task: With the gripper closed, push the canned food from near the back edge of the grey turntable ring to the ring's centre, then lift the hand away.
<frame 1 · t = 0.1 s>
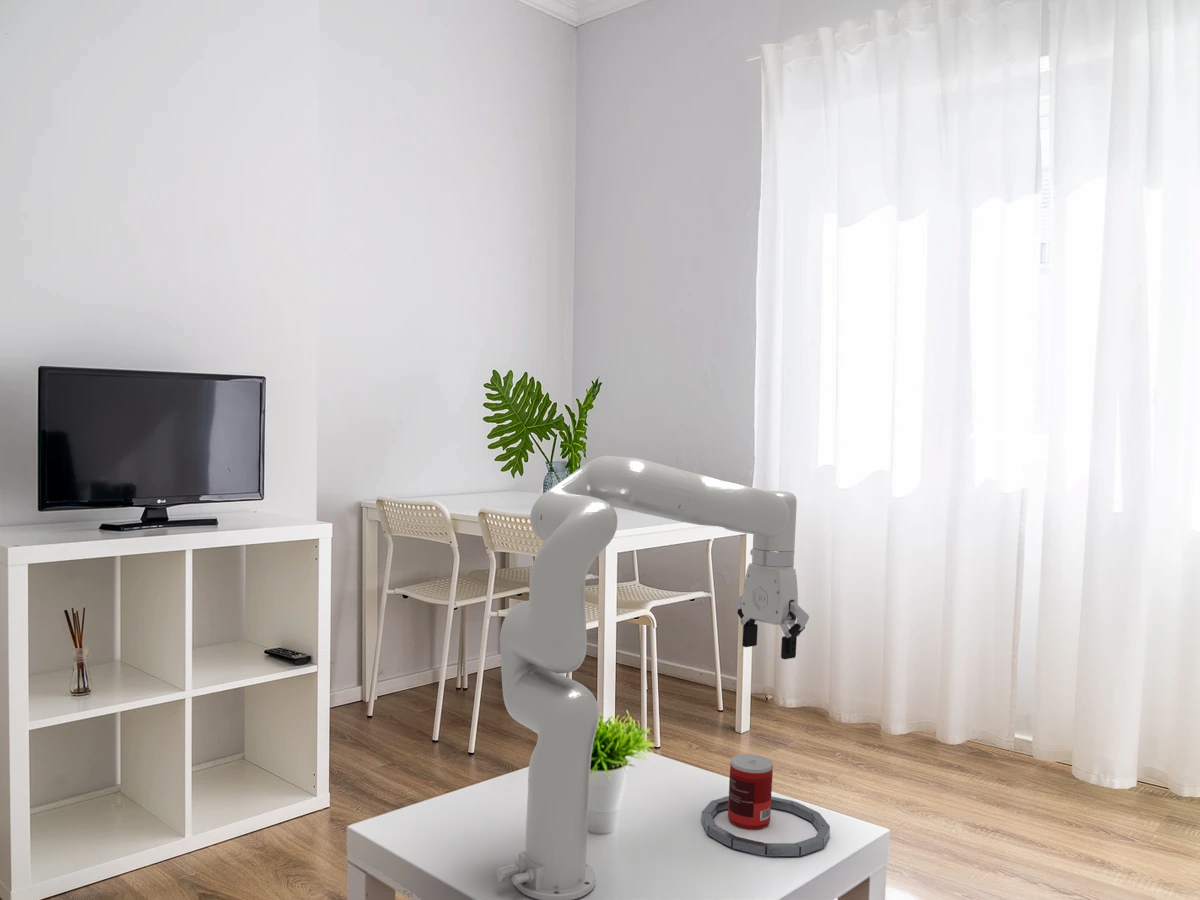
hand: (768, 652, 169), 31 cm above the table, tool pointing down, fingers open, 9 cm apart
turntable ring: (765, 819, 166), point 2 cm above the table, hinge at 0.0°
canned food: (748, 822, 169), resting in turntable ring
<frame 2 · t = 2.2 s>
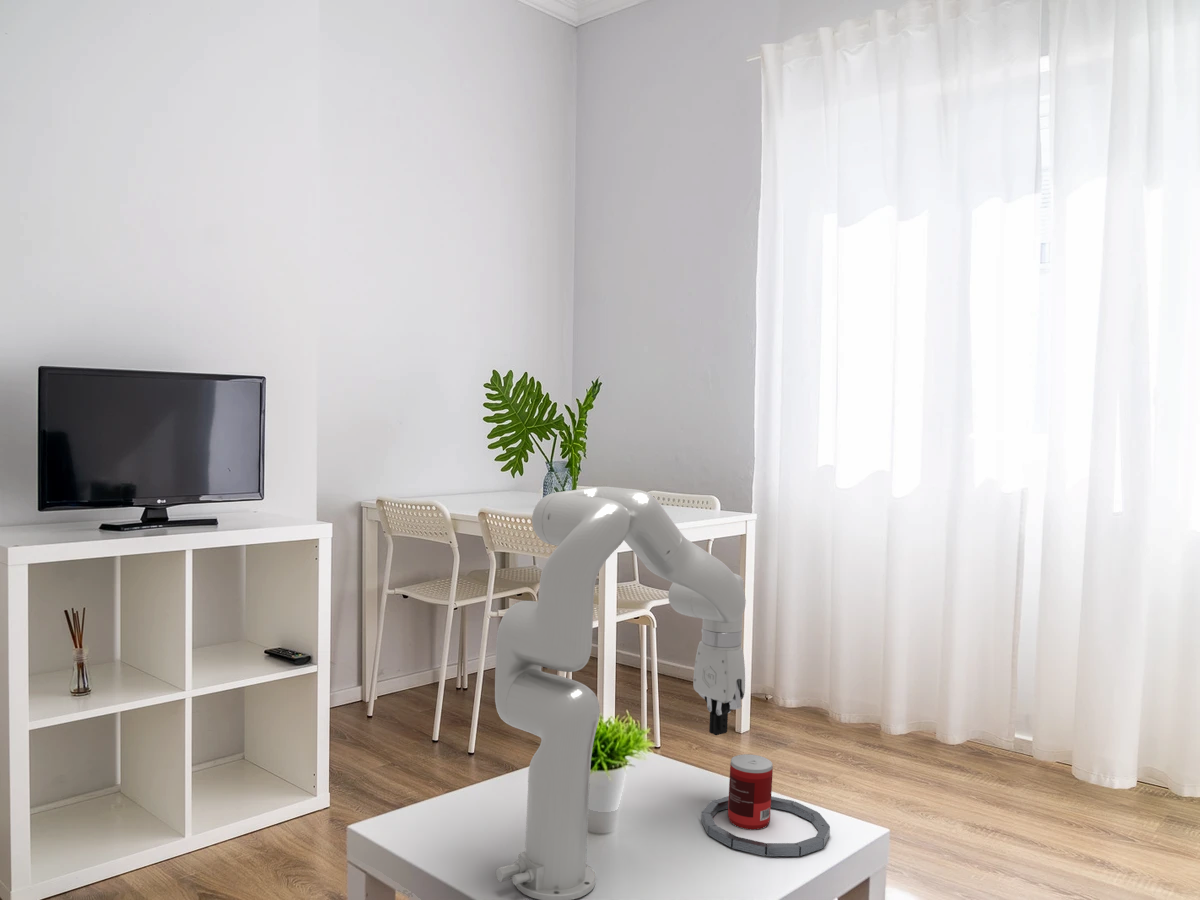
hand: (718, 732, 177), 13 cm above the table, tool pointing down, fingers closed
nothing on the table moved.
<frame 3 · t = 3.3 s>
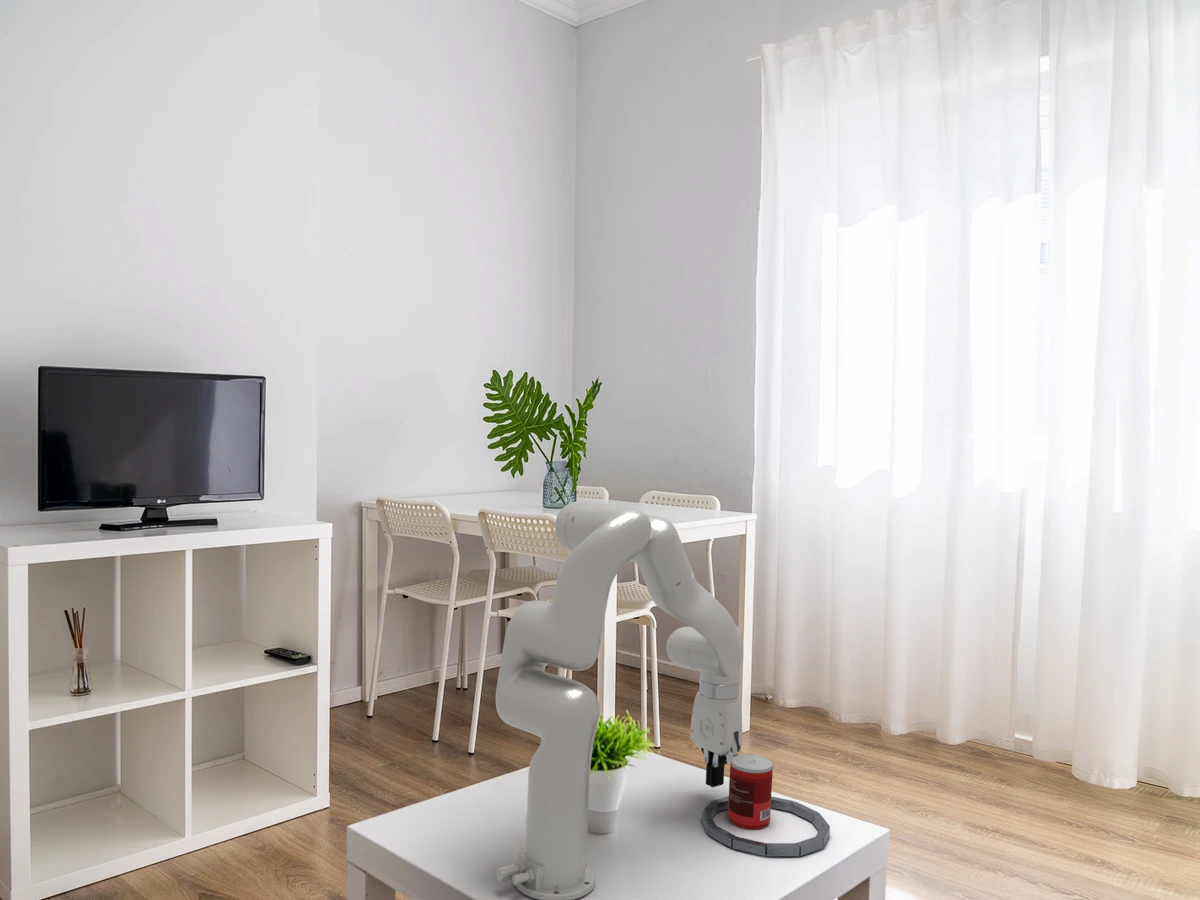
hand: (714, 784, 177), 4 cm above the table, tool pointing down, fingers closed
nothing on the table moved.
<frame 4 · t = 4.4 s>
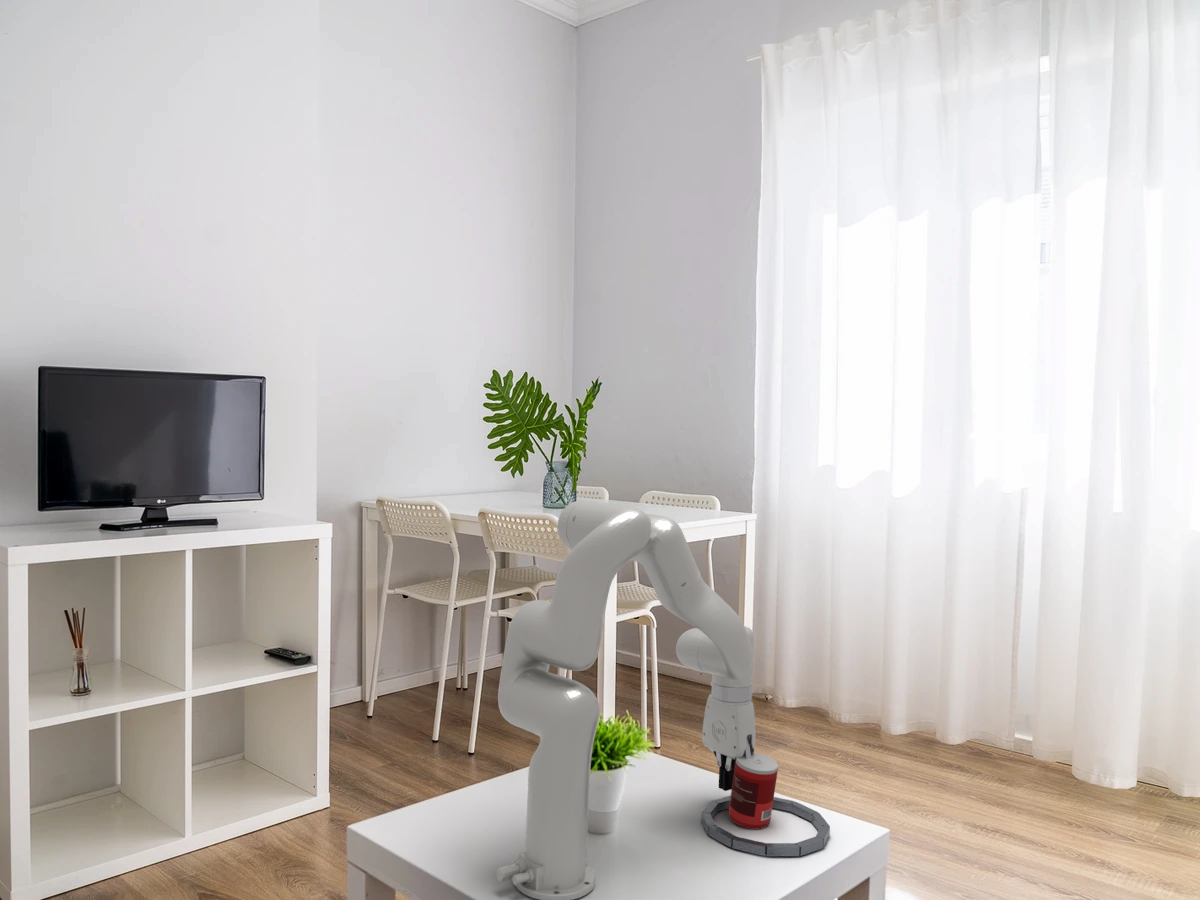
hand: (727, 788, 175), 4 cm above the table, tool pointing down, fingers closed
canned food: (748, 820, 169), resting in turntable ring, touching gripper
everything else where it was.
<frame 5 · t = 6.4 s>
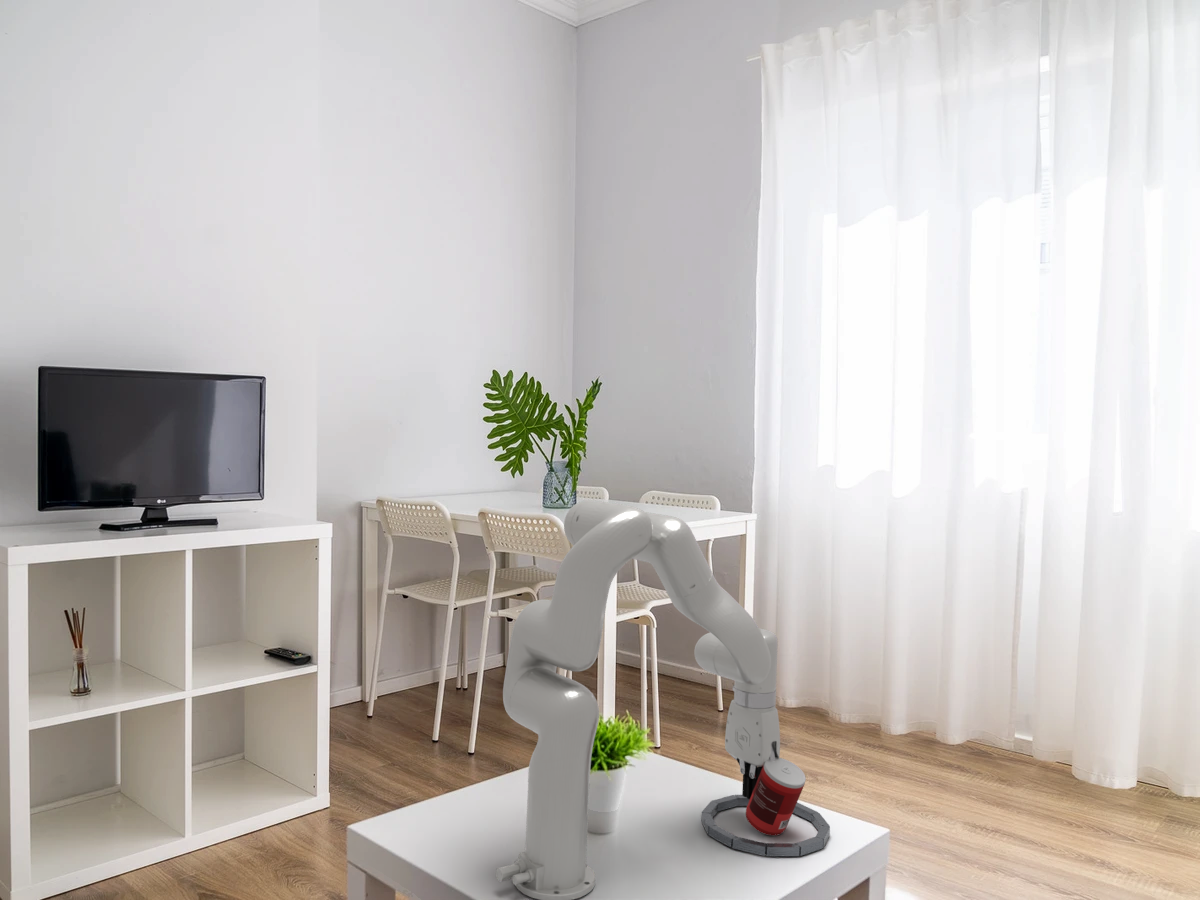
hand: (751, 795, 170), 4 cm above the table, tool pointing down, fingers closed
canned food: (764, 822, 166), point 1 cm above the table, touching gripper
everything else where it was.
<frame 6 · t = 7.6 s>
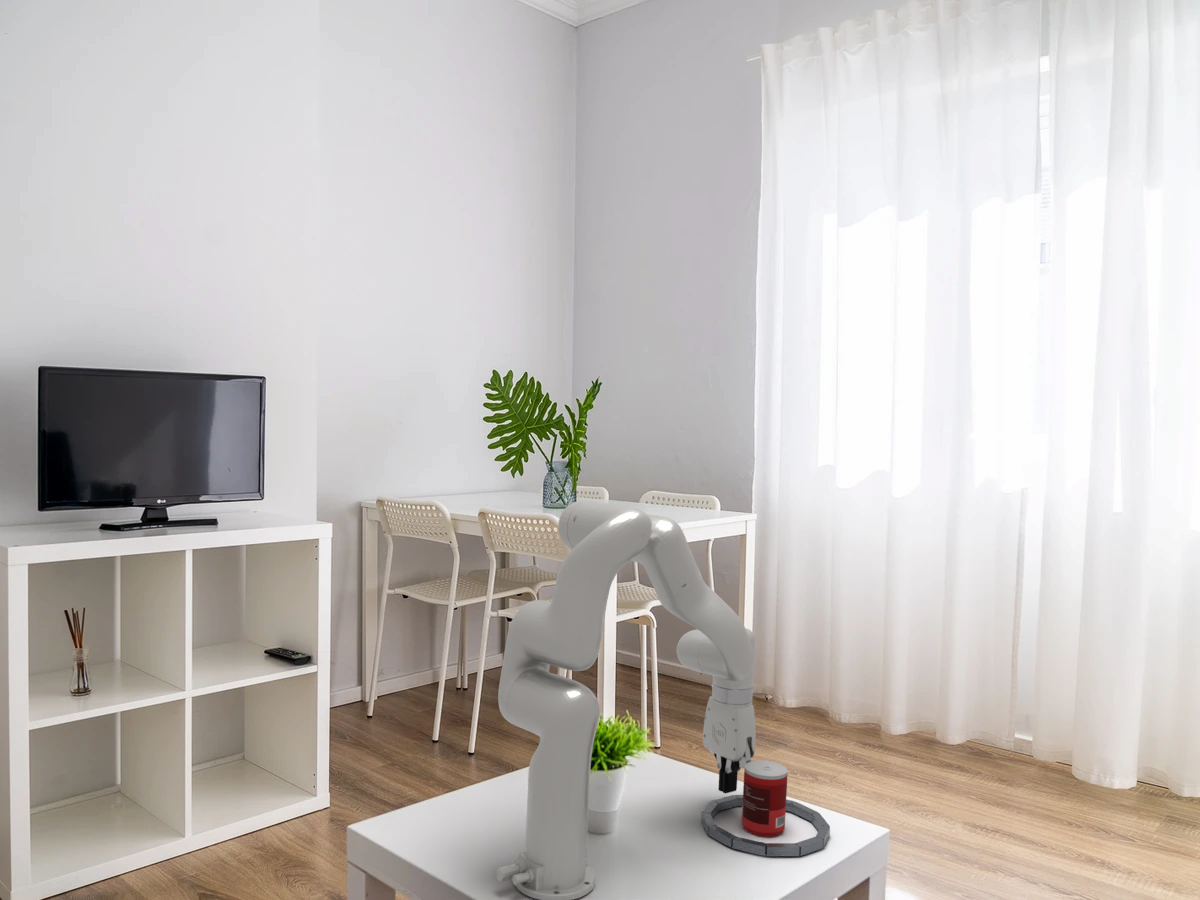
hand: (727, 790, 174), 4 cm above the table, tool pointing down, fingers closed
canned food: (763, 829, 167), resting in turntable ring
everything else where it was.
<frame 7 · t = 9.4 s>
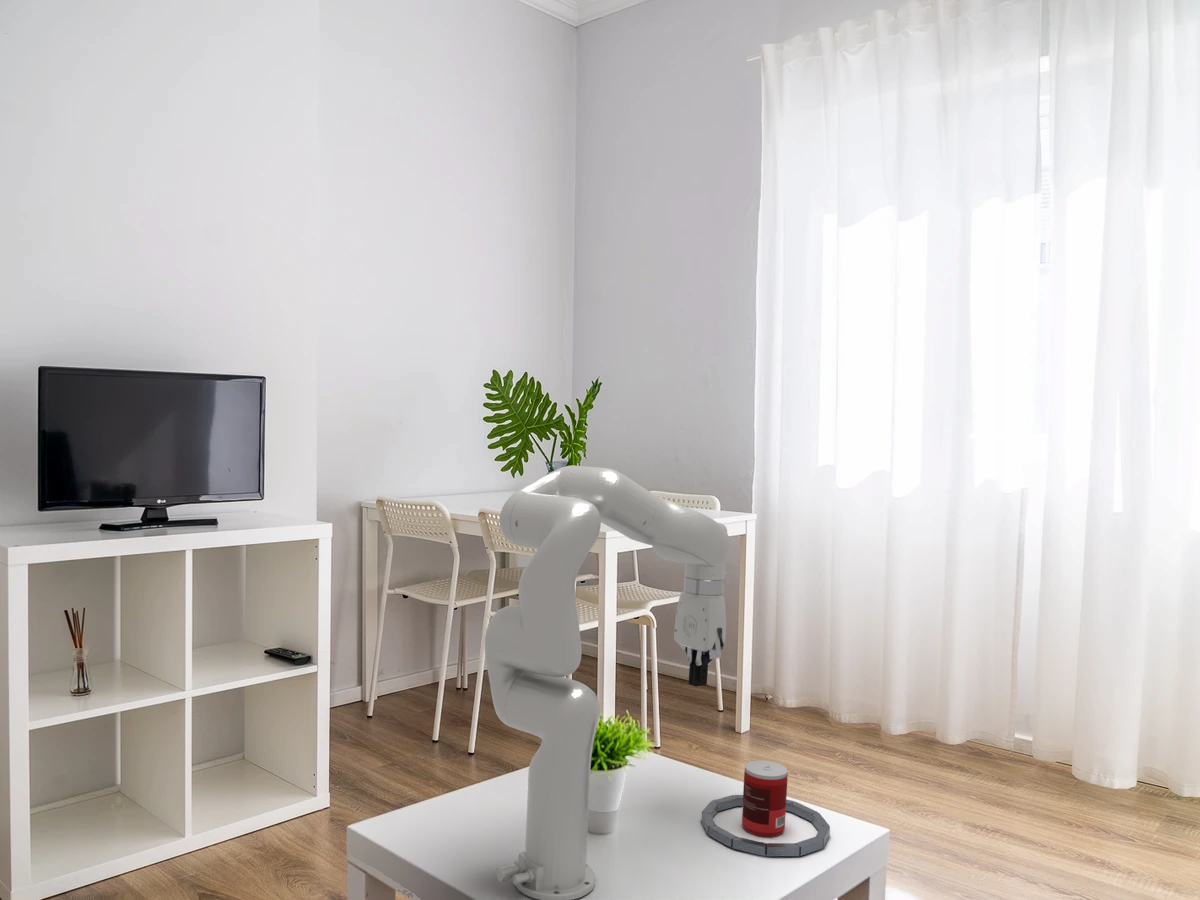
hand: (697, 684, 174), 23 cm above the table, tool pointing down, fingers closed
nothing on the table moved.
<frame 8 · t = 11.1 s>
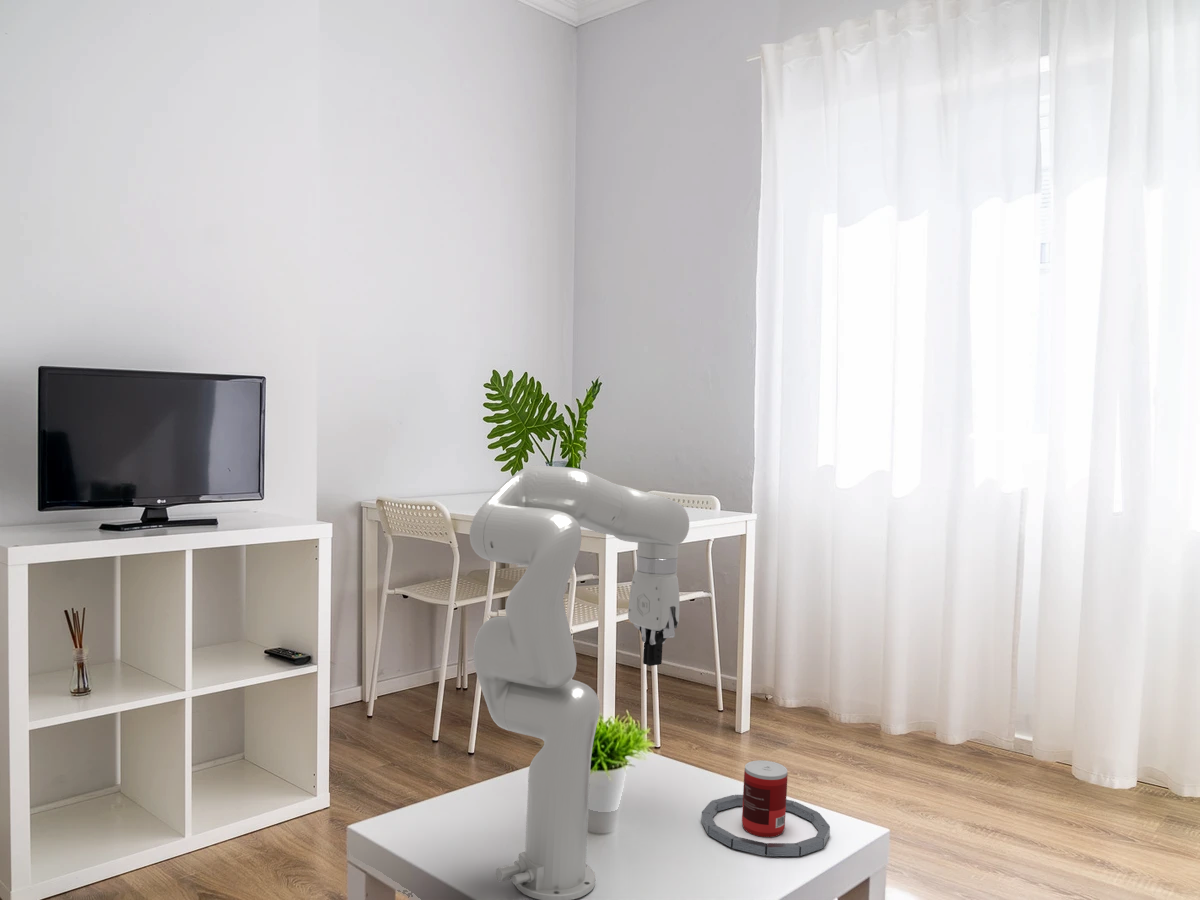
hand: (652, 663, 172), 27 cm above the table, tool pointing down, fingers closed
nothing on the table moved.
at the end: canned food 0.4 cm from the turntable ring (horizontally); canned food tilted 0°; canned food touching table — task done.
